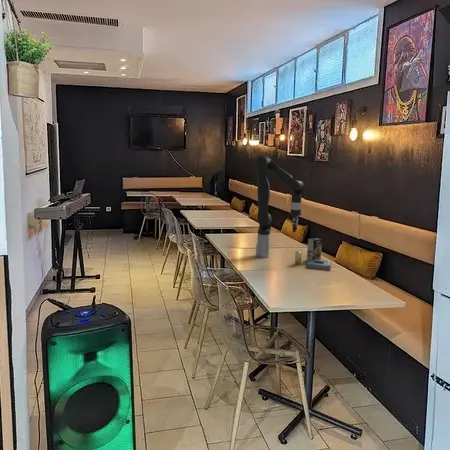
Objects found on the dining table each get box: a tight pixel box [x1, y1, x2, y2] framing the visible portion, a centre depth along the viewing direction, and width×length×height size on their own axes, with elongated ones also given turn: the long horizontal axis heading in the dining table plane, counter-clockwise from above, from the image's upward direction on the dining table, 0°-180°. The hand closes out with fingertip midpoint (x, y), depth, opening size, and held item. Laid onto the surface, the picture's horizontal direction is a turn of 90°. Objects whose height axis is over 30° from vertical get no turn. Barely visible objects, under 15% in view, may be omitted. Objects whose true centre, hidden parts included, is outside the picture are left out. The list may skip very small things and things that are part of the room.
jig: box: [306, 259, 332, 271], centre depth 323 cm, size 16×16×4 cm
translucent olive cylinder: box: [294, 250, 303, 266], centre depth 328 cm, size 4×4×9 cm
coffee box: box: [306, 237, 323, 261], centre depth 342 cm, size 9×6×16 cm
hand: (294, 231), depth 330 cm, fingers open, 8 cm apart
